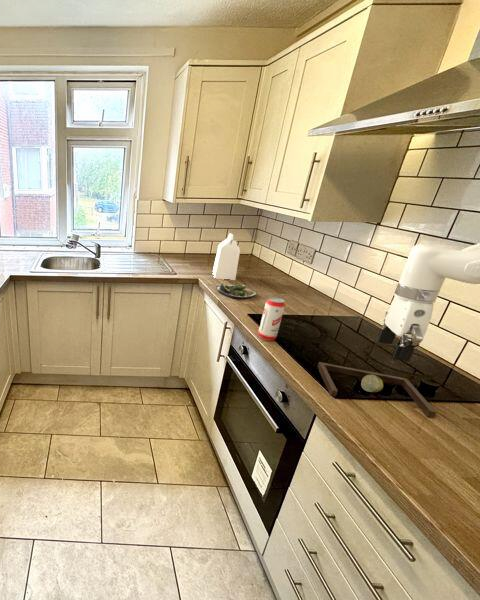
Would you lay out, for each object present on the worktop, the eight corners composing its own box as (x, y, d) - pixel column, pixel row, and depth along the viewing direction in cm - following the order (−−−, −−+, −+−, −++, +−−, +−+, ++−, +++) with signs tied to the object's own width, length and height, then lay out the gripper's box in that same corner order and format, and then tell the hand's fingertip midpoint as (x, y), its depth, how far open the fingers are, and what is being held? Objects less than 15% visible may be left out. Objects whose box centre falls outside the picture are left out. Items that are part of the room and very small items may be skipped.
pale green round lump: (377, 397, 90) (383, 383, 88) (356, 388, 94) (362, 374, 92) (382, 391, 93) (388, 377, 91) (361, 383, 96) (367, 369, 94)
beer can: (278, 338, 122) (289, 300, 116) (270, 343, 118) (281, 304, 112) (262, 332, 127) (272, 295, 120) (254, 336, 123) (263, 298, 117)
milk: (212, 273, 201) (219, 232, 191) (231, 274, 198) (239, 233, 188) (214, 278, 190) (222, 235, 180) (235, 280, 187) (244, 236, 177)
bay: (404, 383, 96) (407, 378, 95) (433, 418, 83) (436, 412, 82) (317, 367, 104) (318, 361, 103) (330, 395, 91) (332, 390, 90)
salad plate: (236, 285, 179) (238, 277, 177) (264, 295, 164) (266, 287, 162) (210, 289, 172) (211, 281, 170) (237, 301, 157) (238, 292, 155)
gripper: (457, 307, 72) (427, 370, 78) (417, 284, 86) (395, 339, 93) (413, 302, 74) (388, 364, 81) (382, 281, 89) (363, 335, 95)
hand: (392, 351), depth 87 cm, fingers open, 9 cm apart
